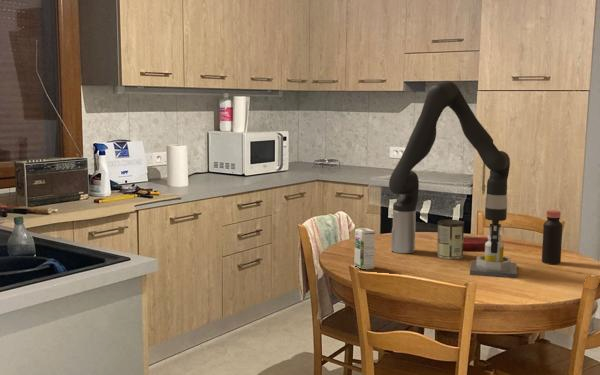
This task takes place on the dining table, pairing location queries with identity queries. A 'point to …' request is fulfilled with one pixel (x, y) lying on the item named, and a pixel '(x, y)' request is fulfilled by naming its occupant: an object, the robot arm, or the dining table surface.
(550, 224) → the vinegar
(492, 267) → the collar base
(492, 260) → the pill bottle
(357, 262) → the syrup box
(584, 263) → the dining table surface
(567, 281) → the dining table surface
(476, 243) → the hardcover book
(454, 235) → the coffee can
